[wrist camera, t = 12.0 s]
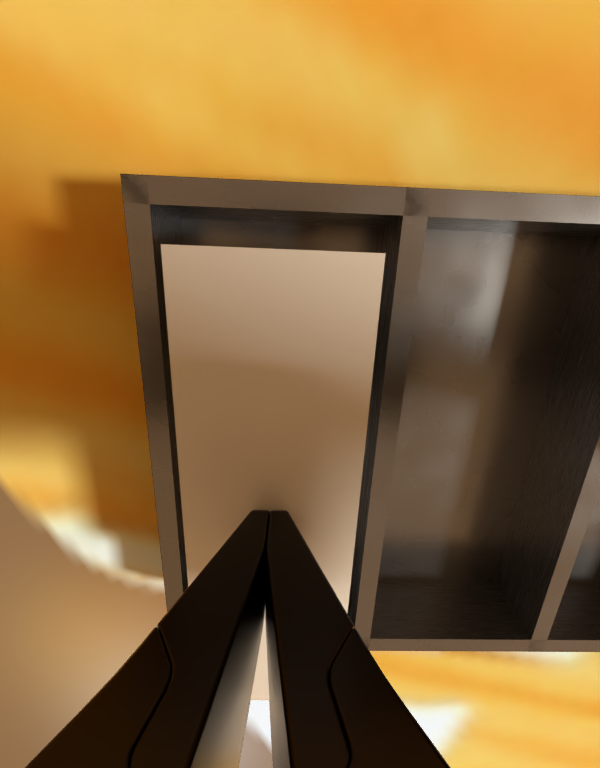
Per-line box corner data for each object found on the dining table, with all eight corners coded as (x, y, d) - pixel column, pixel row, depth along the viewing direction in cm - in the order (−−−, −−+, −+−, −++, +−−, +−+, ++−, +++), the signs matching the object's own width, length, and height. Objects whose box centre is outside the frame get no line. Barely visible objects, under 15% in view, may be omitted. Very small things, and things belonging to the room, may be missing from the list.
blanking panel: (345, 259, 11) (385, 253, 6) (323, 561, 15) (338, 700, 10) (217, 254, 11) (160, 243, 6) (228, 560, 15) (197, 700, 10)
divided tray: (795, 227, 12) (960, 213, 9) (636, 590, 16) (709, 658, 13) (165, 198, 11) (120, 173, 8) (193, 585, 16) (172, 655, 13)
